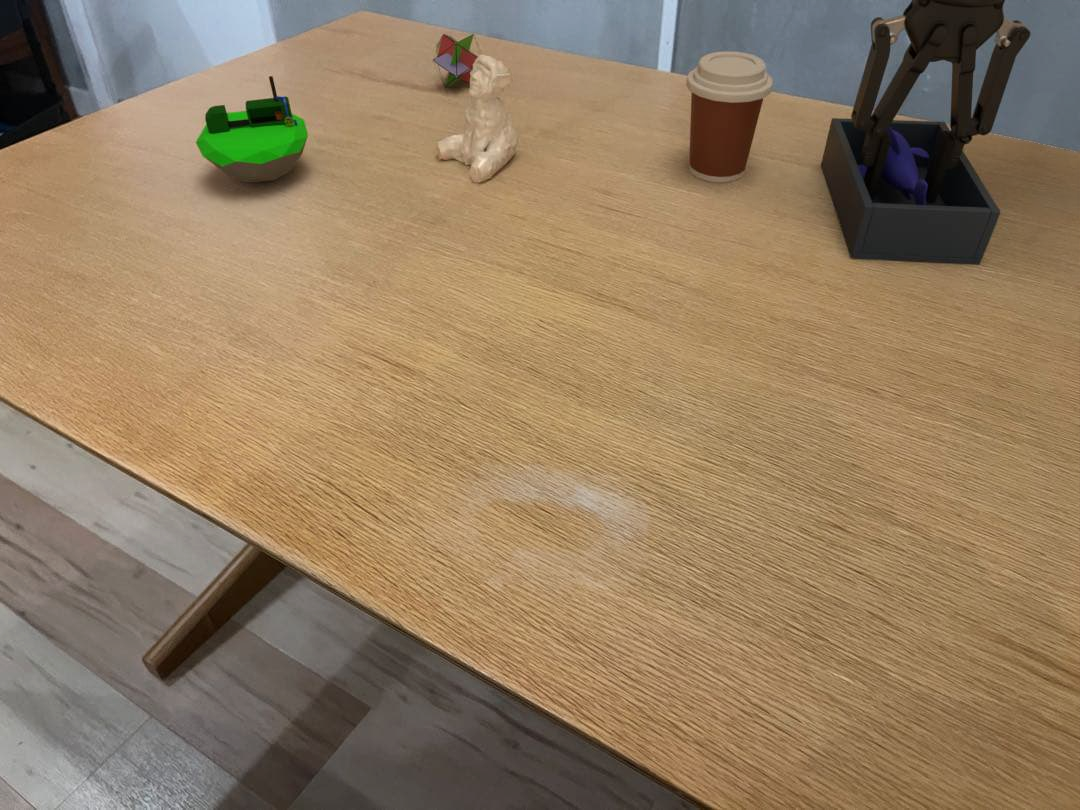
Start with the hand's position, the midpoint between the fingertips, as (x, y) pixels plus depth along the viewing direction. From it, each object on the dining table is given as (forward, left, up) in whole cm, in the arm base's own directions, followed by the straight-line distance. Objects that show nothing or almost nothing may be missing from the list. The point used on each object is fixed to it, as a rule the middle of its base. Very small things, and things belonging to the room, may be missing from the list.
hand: (897, 194), depth 86 cm
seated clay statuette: (+45, -8, -2) cm, 46 cm away
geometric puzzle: (+52, -31, -2) cm, 61 cm away
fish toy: (0, 0, 0) cm, 1 cm away
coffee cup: (+18, -8, -2) cm, 20 cm away
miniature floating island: (+70, -2, -2) cm, 70 cm away
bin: (0, 0, -2) cm, 2 cm away
